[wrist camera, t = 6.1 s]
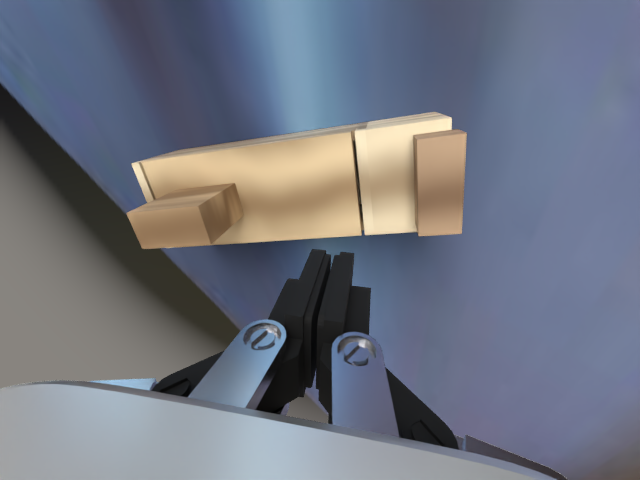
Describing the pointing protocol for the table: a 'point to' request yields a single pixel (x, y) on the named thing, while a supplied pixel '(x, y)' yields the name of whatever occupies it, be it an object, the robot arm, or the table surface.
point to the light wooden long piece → (361, 167)
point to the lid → (252, 194)
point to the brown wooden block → (439, 181)
